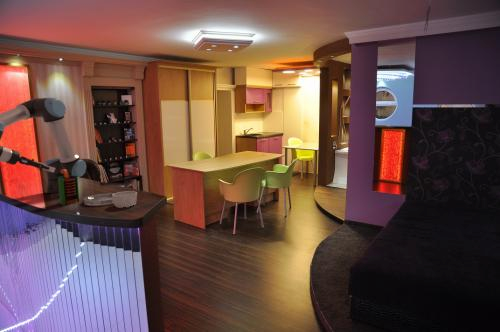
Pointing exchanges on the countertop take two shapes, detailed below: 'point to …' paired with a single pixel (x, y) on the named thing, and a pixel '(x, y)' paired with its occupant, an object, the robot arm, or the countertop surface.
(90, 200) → the tray
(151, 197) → the countertop surface
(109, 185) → the countertop surface
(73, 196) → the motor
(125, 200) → the ramekin
